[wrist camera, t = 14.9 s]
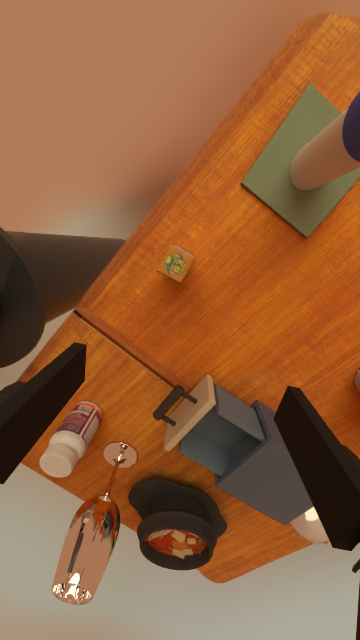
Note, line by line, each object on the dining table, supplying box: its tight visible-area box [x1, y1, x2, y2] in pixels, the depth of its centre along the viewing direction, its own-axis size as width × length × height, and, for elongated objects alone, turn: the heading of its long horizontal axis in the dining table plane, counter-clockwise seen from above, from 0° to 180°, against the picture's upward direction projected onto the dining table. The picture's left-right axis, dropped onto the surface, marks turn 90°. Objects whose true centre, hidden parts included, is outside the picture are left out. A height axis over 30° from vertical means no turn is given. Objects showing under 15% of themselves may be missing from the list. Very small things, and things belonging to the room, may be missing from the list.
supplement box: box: [157, 244, 195, 283], centre depth 28 cm, size 3×4×10 cm
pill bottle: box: [39, 401, 102, 478], centre depth 38 cm, size 6×6×11 cm
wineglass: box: [52, 442, 138, 605], centre depth 38 cm, size 8×8×20 cm
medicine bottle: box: [290, 92, 360, 190], centre depth 21 cm, size 6×6×13 cm
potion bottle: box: [289, 507, 332, 547], centre depth 43 cm, size 9×10×15 cm
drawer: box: [153, 374, 267, 477], centre depth 37 cm, size 19×12×7 cm, turn 55°
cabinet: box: [214, 400, 314, 525], centre depth 39 cm, size 16×14×9 cm
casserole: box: [128, 478, 227, 570], centre depth 47 cm, size 25×19×8 cm
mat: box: [241, 83, 360, 238], centre depth 28 cm, size 12×12×1 cm
